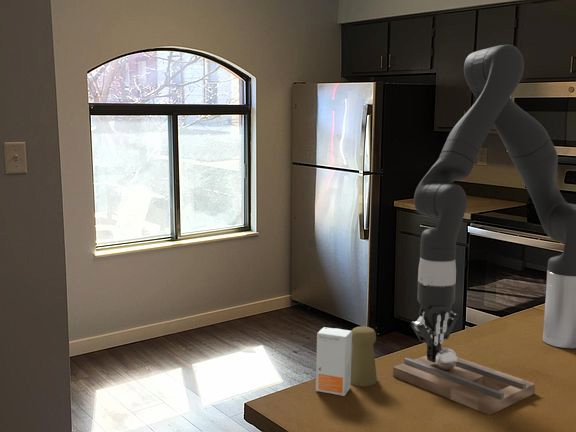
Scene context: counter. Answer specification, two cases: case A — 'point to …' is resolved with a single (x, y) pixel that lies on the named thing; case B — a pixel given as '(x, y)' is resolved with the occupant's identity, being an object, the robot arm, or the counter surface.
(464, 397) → the walnut channel
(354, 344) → the olive knob stopper
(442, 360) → the steel ball
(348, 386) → the skincare box
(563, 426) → the counter surface
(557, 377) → the counter surface
